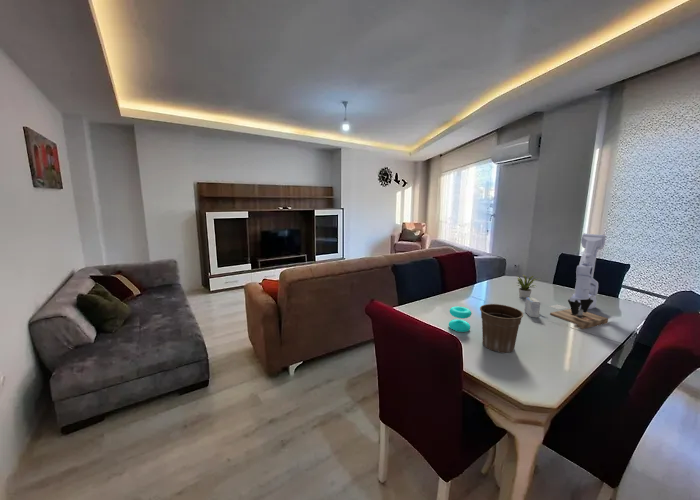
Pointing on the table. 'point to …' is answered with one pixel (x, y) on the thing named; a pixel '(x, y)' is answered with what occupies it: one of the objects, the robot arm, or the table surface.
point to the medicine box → (532, 307)
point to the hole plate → (583, 323)
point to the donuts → (457, 323)
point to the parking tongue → (558, 307)
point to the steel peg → (579, 313)
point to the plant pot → (500, 326)
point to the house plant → (525, 287)
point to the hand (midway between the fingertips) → (578, 313)
